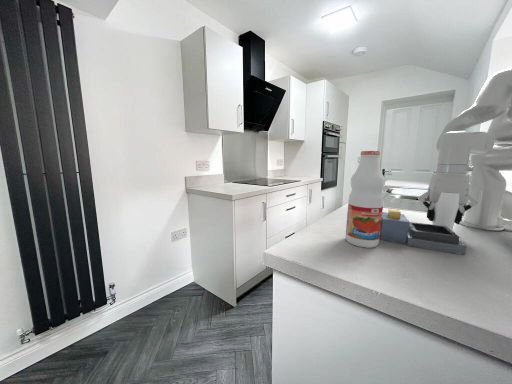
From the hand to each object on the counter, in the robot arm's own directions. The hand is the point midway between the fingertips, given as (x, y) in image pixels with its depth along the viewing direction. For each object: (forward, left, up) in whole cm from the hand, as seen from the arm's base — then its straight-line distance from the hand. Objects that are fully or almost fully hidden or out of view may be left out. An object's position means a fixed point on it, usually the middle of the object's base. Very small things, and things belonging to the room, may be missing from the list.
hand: (443, 221), depth 74 cm
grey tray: (+10, +12, -5) cm, 16 cm away
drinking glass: (0, 0, -5) cm, 5 cm away
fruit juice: (+25, +21, -5) cm, 33 cm away
